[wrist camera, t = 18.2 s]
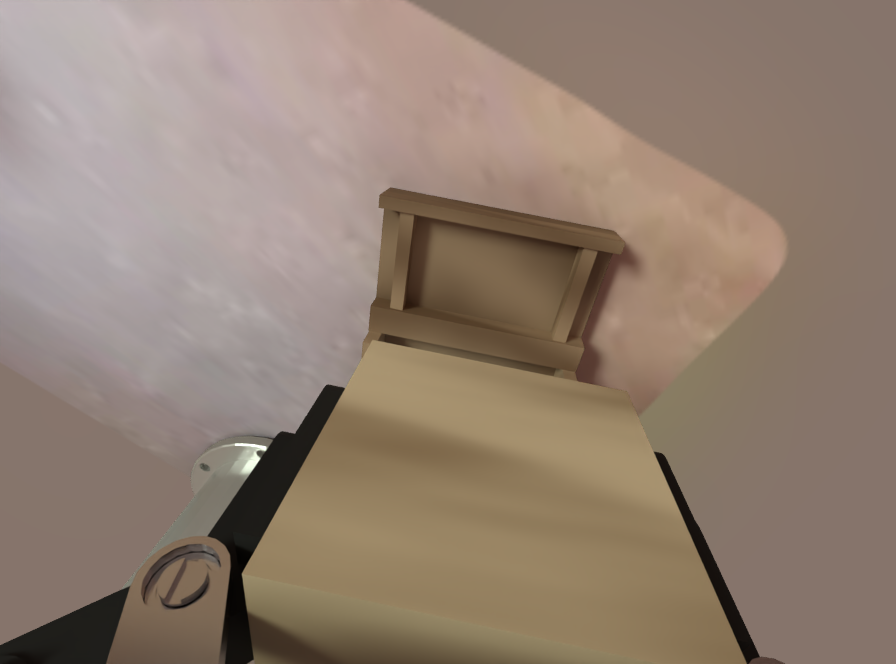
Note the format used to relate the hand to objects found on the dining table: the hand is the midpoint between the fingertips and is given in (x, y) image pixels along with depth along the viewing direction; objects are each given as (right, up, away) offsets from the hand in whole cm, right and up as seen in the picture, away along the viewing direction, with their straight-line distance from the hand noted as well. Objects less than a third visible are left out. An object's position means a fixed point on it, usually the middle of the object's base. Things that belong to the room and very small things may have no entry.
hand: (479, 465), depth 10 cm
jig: (+1, +3, +15) cm, 16 cm away
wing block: (0, +1, +1) cm, 1 cm away
